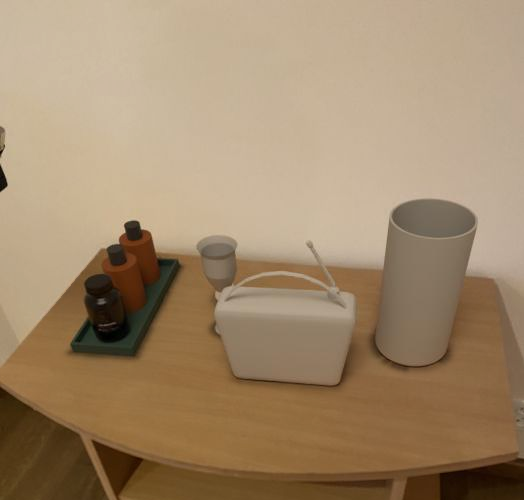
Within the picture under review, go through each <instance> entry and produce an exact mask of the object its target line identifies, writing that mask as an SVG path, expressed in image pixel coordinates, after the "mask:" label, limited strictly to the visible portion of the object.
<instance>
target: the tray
mask: <svg viewBox="0 0 524 500" xmlns="http://www.w3.org/2000/svg"><path fill="white" fill-rule="evenodd" d="M157 261H158V265H159V269H160V274H161V276H160V279H159V280H158V281H157V282H155V283H153V284H151V285H147V286H144V289H145V293H146V297H147V303H146V305H145V306H144V307H143V308H142V309H140V310H138V311H136V312H132V313H127V316H128V320H129V324H130V331H129V333H128V335H127V336H126V337H124V338H123V339H121V340H119V341H116V342H110V343H108V342H102V341H100V340H98V339H97V338H96V336H95V334H94V331H93V328H92V325H91V322H90V319H89V316H88V315H87V318H86V319H85V320H84V322H83V323H82V325H81V326H80V328H79V329H78V331H77V332H76V334H75V336H74V337H73V338H72V339H71V342H70V343H69V346H70V348H71V350H72V353H79V354H82V353H83V354H95V355H111V356H123V357H125V356H126V357H135V356H136V354H137V352H138V350H139V348H140V347H141V345H142V342H143V341H144V338H145V336H146V335H147V332H148V330H149V329H150V326H151V324H152V322H153V320H154V319H155V316H156V315H157V313H158V311H159V309H160V306H161V305H162V303H163V300H164V299H165V298H166V295H167V293H168V291H169V289H170V287H171V285H172V282H173V280H174V279H175V276H176V275H177V273H178V271H179V269H180V267H181V266H180V261H179V258H166V257H165V258H164V257H163V258H162V257H157Z"/></svg>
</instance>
